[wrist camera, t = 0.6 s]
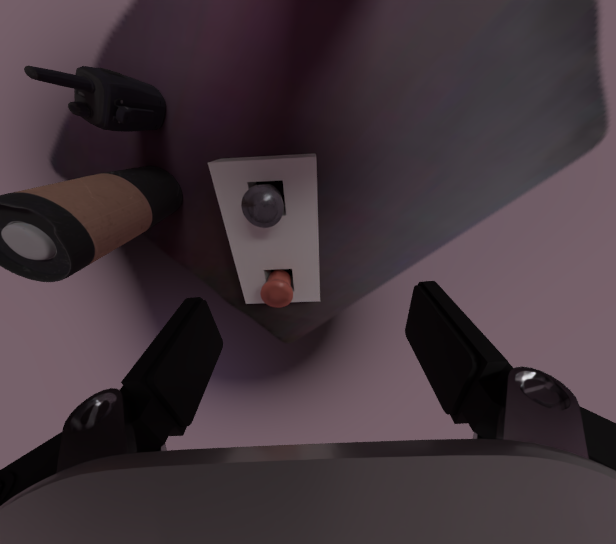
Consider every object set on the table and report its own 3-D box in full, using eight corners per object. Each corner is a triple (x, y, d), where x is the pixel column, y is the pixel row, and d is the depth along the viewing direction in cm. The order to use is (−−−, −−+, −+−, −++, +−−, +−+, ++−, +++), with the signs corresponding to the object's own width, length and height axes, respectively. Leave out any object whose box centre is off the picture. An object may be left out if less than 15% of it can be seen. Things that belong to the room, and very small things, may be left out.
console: (220, 158, 32) (207, 162, 28) (315, 153, 32) (316, 156, 27) (251, 287, 45) (245, 303, 41) (318, 285, 45) (320, 301, 41)
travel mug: (141, 211, 36) (-1, 279, 20) (126, 160, 32) (-71, 192, 16) (188, 216, 37) (88, 287, 20) (179, 167, 33) (43, 205, 16)
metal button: (246, 180, 29) (237, 187, 26) (284, 178, 29) (280, 184, 26) (253, 217, 32) (245, 228, 29) (288, 215, 32) (285, 226, 28)
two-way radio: (143, 76, 27) (0, 28, 15) (179, 99, 28) (76, 75, 16) (136, 121, 30) (9, 115, 17) (169, 141, 31) (74, 149, 18)
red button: (262, 267, 37) (257, 282, 33) (293, 266, 37) (291, 281, 33) (267, 291, 40) (263, 308, 36) (295, 290, 40) (294, 307, 36)
